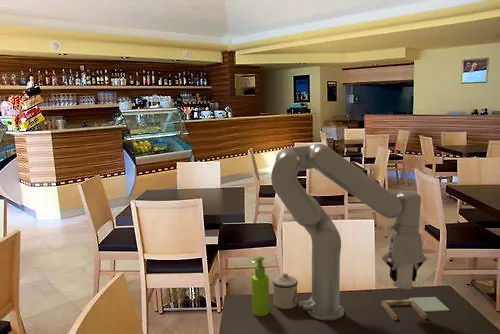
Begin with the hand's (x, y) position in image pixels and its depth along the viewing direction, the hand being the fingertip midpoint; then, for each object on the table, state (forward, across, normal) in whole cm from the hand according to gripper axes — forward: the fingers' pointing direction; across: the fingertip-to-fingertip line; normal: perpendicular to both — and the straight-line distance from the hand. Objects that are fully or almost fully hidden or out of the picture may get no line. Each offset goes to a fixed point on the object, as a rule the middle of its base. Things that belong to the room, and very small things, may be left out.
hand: (402, 279), depth 142 cm
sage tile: (+12, +12, +5) cm, 18 cm away
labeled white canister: (+2, 0, 0) cm, 2 cm away
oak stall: (+12, +1, +1) cm, 12 cm away
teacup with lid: (+14, -39, +12) cm, 43 cm away
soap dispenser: (+14, -48, +5) cm, 51 cm away
